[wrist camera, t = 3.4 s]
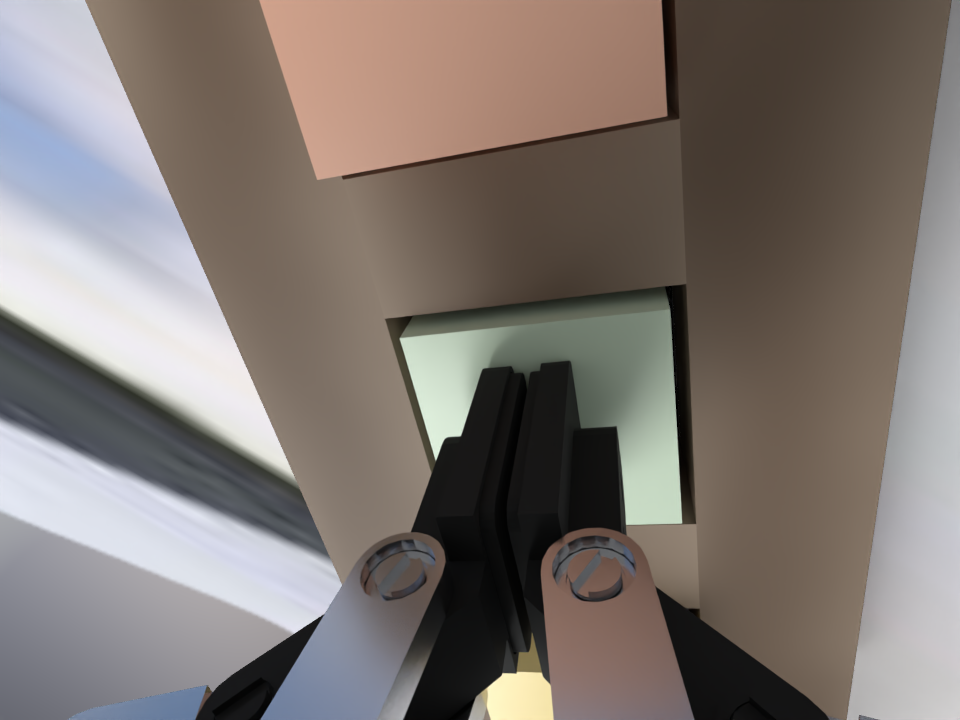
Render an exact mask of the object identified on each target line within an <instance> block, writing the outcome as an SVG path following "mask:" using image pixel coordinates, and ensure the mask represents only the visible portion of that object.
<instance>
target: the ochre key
mask: <svg viewBox="0 0 960 720" xmlns="http://www.w3.org/2000/svg"><path fill="white" fill-rule="evenodd" d="M487 691H488V701H487V709H488V712H489V715H490V718H491V720H554V718H553V706H552V695H551V685H550V684H549V683H548V682H547V681H546V680H545V679H544V677H543V675H542V671H541V666H540V662H539V658H538V654H537V650H536V646H535V642H534V638H533V633H532V638H531V646H530V651H529V652H519V657H518V666H517V674H510V673H502V676H501V677H500V678H498V679H497V680H496V681H495V682H493V683H492V684H491V685H490V686H489V687H487Z"/></svg>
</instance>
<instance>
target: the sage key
mask: <svg viewBox="0 0 960 720" xmlns="http://www.w3.org/2000/svg"><path fill="white" fill-rule="evenodd" d="M400 341H401V345H402V348H403V351H404V355H405V358H406V362H407V365H408V368H409V372H410V375H411V379H412V382H413V385H414V389H415V392H416V395H417V399H418V402H419V406H420V409H421V412H422V416H423V419H424V423H425V426H426V429H427V433H428V436H429V440H430V443H431V446H432V450H433V453H434V457H435V460H437V457H438V454H439V451H440V448H441V446H442V443H443V441H444V439H445V438H447V437H456V436H461V434H462V431H463V428H464V425H465V422H466V419H467V415H468V412H469V409H470V406H471V403H472V400H473V396H474V393H475V390H476V387H477V384H478V381H479V378H480V374H481V371H482V369H484V368H495V367H506V366H512V368H513V370H514V373H522V372H523V374H524V376H525V381H526V386H527V388H528V383H529V377H530V373H531V372H533V371H540V366H541V363H549V362H560V361H571V365H572V371H573V378H574V385H575V391H576V398H577V405H578V412H579V419H580V425H581V428H596V427H612V426H617V431H618V439H619V447H620V456H621V465H622V476H623V487H624V499H625V515H626V525H644V524H682V511H681V493H680V475H679V457H678V439H677V421H676V403H675V385H674V367H673V349H672V331H671V313H670V306H669V302H668V298H667V294H666V290H665V286H664V287H655V288H647V289H638V290H629V291H621V292H612V293H603V294H595V295H586V296H578V297H569V298H560V299H552V300H543V301H534V302H526V303H517V304H508V305H500V306H491V307H482V308H474V309H465V310H456V311H448V312H439V313H431V314H422V315H414V316H413V317H412V319H411V320H410V322H409V324H408V325H407V327H406V329H405V330H404V332H403V333H402V335H401V337H400Z"/></svg>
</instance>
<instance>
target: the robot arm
mask: <svg viewBox="0 0 960 720" xmlns="http://www.w3.org/2000/svg"><path fill="white" fill-rule="evenodd" d="M532 633H533V638H534V642H535V646H536V650H537V654H538V658H539V662H540V666H541V671H542V675H543V677H544V679H545V680H546V681H547V682H548V683H549V684H550V685H551V695H552V706H553V718H554V720H842V719H838V718H834V717H830V716H827V715H826V714H825V713H824V712H823V711H822V710H821V709H820V708H819V707H818V706H817V705H815V704H814V703H813V702H812V701H811V700H810V699H809V698H808V697H807V696H805V695H804V694H802V693H801V692H800V691H798V690H797V689H796V688H794V687H793V686H792V685H790V684H789V683H787V682H786V681H785V680H783V679H782V678H781V677H779V676H778V675H776V674H775V673H774V672H772V671H771V670H770V669H768V668H767V667H765V666H764V665H763V664H761V663H760V662H759V661H757V660H756V659H755V658H753V657H752V656H750V655H749V654H748V653H746V652H745V651H744V650H742V649H741V648H739V647H738V646H737V645H735V644H734V643H733V642H731V641H730V640H728V639H727V638H726V637H724V636H723V635H722V634H720V633H719V632H718V631H716V630H715V629H713V628H712V627H711V626H709V625H708V624H707V623H705V622H704V621H702V620H701V619H700V618H698V617H697V616H696V615H694V614H693V613H692V612H690V611H689V610H687V609H686V608H685V607H683V606H682V605H681V604H679V603H678V602H676V601H675V600H674V599H672V598H671V597H670V596H668V595H667V594H665V593H664V592H663V591H661V590H660V589H659V588H657V587H656V586H655V584H654V581H653V577H652V574H651V570H650V567H649V564H648V560H647V558H646V556H645V554H644V552H643V550H642V548H641V547H640V546H639V545H638V544H637V543H636V542H634V541H633V540H632V539H631V538H630V537H628V536H627V532H626V515H625V499H624V487H623V476H622V465H621V456H620V447H619V439H618V431H617V426H612V427H596V428H581V425H580V419H579V412H578V405H577V398H576V391H575V385H574V378H573V371H572V365H571V361H560V362H549V363H541V366H540V371H533V372H531V373H530V377H529V383H528V388H527V386H526V381H525V376H524V374H523V372H522V373H514V370H513V368H512V366H506V367H495V368H484V369H482V371H481V374H480V378H479V381H478V384H477V387H476V390H475V393H474V396H473V400H472V403H471V406H470V409H469V412H468V415H467V419H466V422H465V425H464V428H463V431H462V434H461V436H456V437H447V438H445V439H444V441H443V443H442V446H441V448H440V451H439V454H438V457H437V460H436V463H435V465H434V468H433V471H432V474H431V477H430V479H429V482H428V485H427V488H426V491H425V494H424V496H423V499H422V502H421V505H420V508H419V510H418V513H417V516H416V519H415V522H414V525H413V527H412V530H411V532H405V533H400V534H396V535H392V536H389V537H387V538H385V539H383V540H381V541H379V542H377V543H375V544H374V545H373V546H372V547H370V548H369V549H368V550H367V551H365V552H364V553H363V555H362V556H361V557H360V558H359V560H358V561H357V562H356V564H355V565H354V567H353V569H352V570H351V572H350V573H349V575H348V577H347V578H346V580H345V582H344V583H343V585H342V587H341V588H340V590H339V592H338V593H337V595H336V596H335V598H334V600H333V601H332V603H331V605H330V606H329V608H328V610H327V611H326V613H325V614H324V615H322V616H321V617H319V618H318V619H316V620H315V621H313V622H312V623H310V624H309V625H307V626H305V627H304V628H302V629H301V630H299V631H298V632H296V633H295V634H293V635H292V636H290V637H289V638H287V639H286V640H284V641H283V642H281V643H280V644H278V645H277V646H275V647H274V648H272V649H271V650H269V651H267V652H266V653H264V654H263V655H261V656H260V657H258V658H257V659H255V660H254V661H252V662H251V663H249V664H248V665H246V666H245V667H243V668H242V669H240V670H239V671H237V672H236V673H234V674H233V675H231V676H230V677H229V678H228V679H227V680H225V681H224V682H223V683H222V684H221V685H219V686H218V687H217V688H216V689H215V691H214V692H212V691H211V690H210V688H209V687H208V686H207V685H206V686H200V687H195V688H190V689H186V690H180V691H176V692H170V693H165V694H160V695H155V696H150V697H146V698H141V699H136V700H131V701H126V702H121V703H116V704H111V705H106V706H101V707H96V708H92V709H89V710H86V711H84V712H81V713H78V714H76V715H74V716H73V717H71V718H70V719H68V720H483V718H484V715H485V711H486V708H487V701H488V691H487V687H489V686H490V685H491V684H492V683H493V682H495V681H496V680H497V679H498V678H500V677H501V676H502V673H510V674H517V666H518V657H519V652H529V651H530V646H531V638H532ZM859 720H878V719H874V718H870V717H866V716H862V715H859Z"/></svg>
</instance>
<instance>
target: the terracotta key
mask: <svg viewBox="0 0 960 720" xmlns="http://www.w3.org/2000/svg"><path fill="white" fill-rule="evenodd" d="M259 1H260V4H261V7H262V10H263V14H264V17H265V20H266V23H267V26H268V29H269V32H270V35H271V38H272V41H273V45H274V48H275V51H276V54H277V57H278V60H279V63H280V66H281V69H282V73H283V76H284V79H285V82H286V85H287V88H288V91H289V94H290V97H291V100H292V104H293V107H294V110H295V113H296V116H297V119H298V122H299V125H300V128H301V132H302V135H303V138H304V141H305V144H306V147H307V150H308V153H309V156H310V159H311V163H312V166H313V169H314V172H315V175H316V178H317V180H321V179H326V178H331V177H337V176H342V175H348V174H353V173H359V172H364V171H370V170H375V169H381V168H386V167H392V166H397V165H403V164H408V163H414V162H419V161H425V160H430V159H436V158H441V157H447V156H452V155H458V154H463V153H469V152H474V151H480V150H485V149H491V148H496V147H502V146H507V145H512V144H518V143H523V142H529V141H534V140H540V139H545V138H551V137H556V136H562V135H567V134H573V133H578V132H584V131H589V130H595V129H600V128H606V127H611V126H617V125H622V124H628V123H633V122H639V121H644V120H650V119H655V118H661V117H666V116H667V99H666V79H665V59H664V39H663V19H662V0H259Z"/></svg>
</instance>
